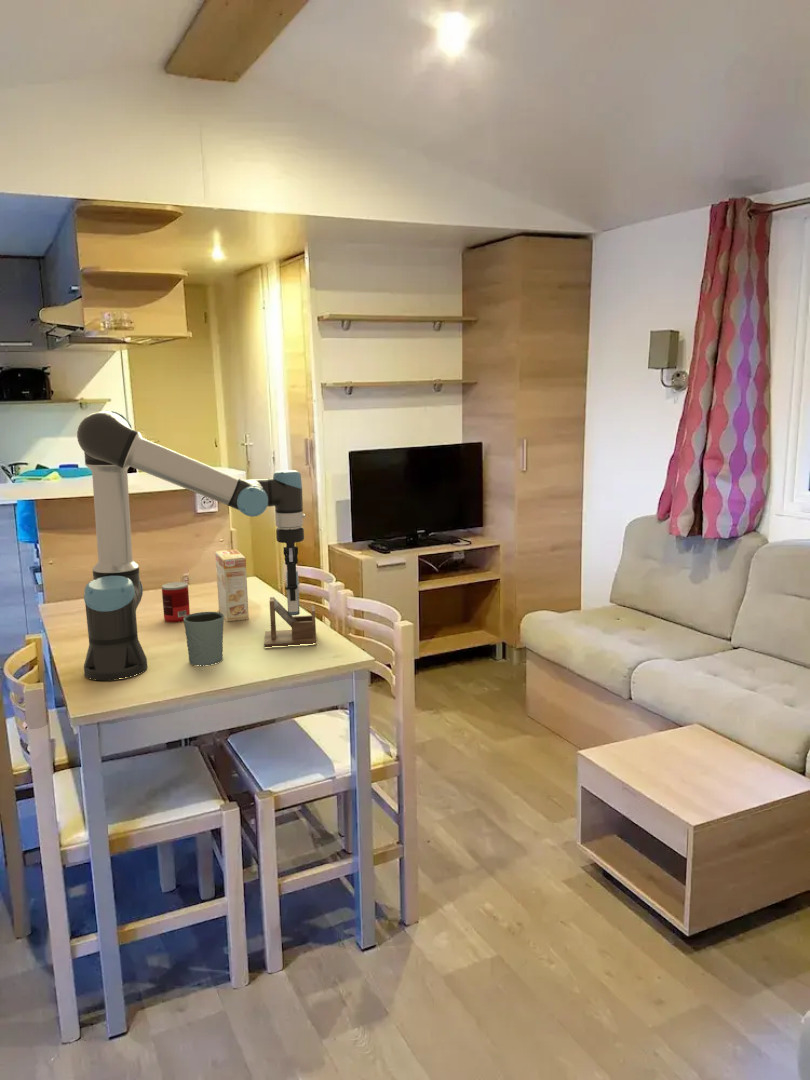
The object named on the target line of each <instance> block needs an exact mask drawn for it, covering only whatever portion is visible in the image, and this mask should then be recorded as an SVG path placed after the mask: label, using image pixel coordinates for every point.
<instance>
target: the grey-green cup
mask: <svg viewBox="0 0 810 1080" xmlns="http://www.w3.org/2000/svg"><path fill="white" fill-rule="evenodd" d="M183 620H184V621H183V624H184V631H185V632H184V633H185V637H186V647H187V651H188V652H187V654H188V661H189V664H190V663H191V664H193V665H192V666H194V665H199V666H198V667H206V666H205V665H211V664H215V663H218V662H220V661H221V660H222V661H223V658H224V657H223V652H224V650H223V649H224V646H223V645H224V643H223V642H224V621H225V618H224V615H223V614H221V612H217V611H204V612H203V611H202V612H200V611H199V612H195V613H190V615H187V616H185V617H184V618H183ZM222 661H221V662H222ZM221 662H220V663H221ZM191 664H190V665H191ZM218 664H219V663H218ZM200 665H201V666H200ZM203 665H204V666H203ZM215 665H216V664H215ZM211 666H212V665H211Z"/></svg>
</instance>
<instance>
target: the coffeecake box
mask: <svg viewBox="0 0 810 1080" xmlns="http://www.w3.org/2000/svg"><path fill="white" fill-rule="evenodd" d="M214 553H215V554H214V555H215V570H216V585H217V586H216V588H217V601H218V602H217V603H218V604H217V605H218V611H219V613H221V614H223V615H224V620H225V621H226V622H228V621H229V622H235V621H236V620H237V621H244V620H245V619H246V620H249V619H250V617H249V613H250V612H249V599H248V598H249V597H248V596H249V595H248V576H247V575H248V574H247V557H245V556H244V555H243V554H242V553H241V552H240V551H238V550H237V549H235V548H233V549H223V550H215V552H214ZM246 620H245V621H246Z"/></svg>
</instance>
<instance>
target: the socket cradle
mask: <svg viewBox="0 0 810 1080" xmlns="http://www.w3.org/2000/svg"><path fill="white" fill-rule="evenodd" d="M310 609H311V615H294V616H292V615H288V609H286V608H285V607H284V606H283V605H282V604H281V603H280V602H279V601H278V600H277V599H276V598H275V596H270V597H269V618H270V630H266V631H265V634H264V640H263V641H264V642H263V648H264V647H272V646H288V645H300V644H313V643H316V644H317V632H316V631H317V630H316V629H317V627H316V607H315V605H311V606H310ZM276 613H277V614H278V615H279V617H280V618H282V619H283V620H284V622H286V623H287V624H288V626H289V627H291V629H287V630H286V629H285V630H282V629H281V630H277V628H276V627H277V623H276Z"/></svg>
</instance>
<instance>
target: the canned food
mask: <svg viewBox="0 0 810 1080" xmlns="http://www.w3.org/2000/svg"><path fill="white" fill-rule="evenodd" d="M189 594H190V593H189V585H188V583H187V582H183V581H173V582H167V583H165V584H163V585H161V596H162V597H161V598H162V606H163V608H162V610H163V618H164V621H165V622H166V623H170V624H171V623H172V624H174V623H175V624H176V623H182V622H183V623H184V620H183V618H184V617H185V616H187V615H190V614H191V611H190V597H189V596H190V595H189Z"/></svg>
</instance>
